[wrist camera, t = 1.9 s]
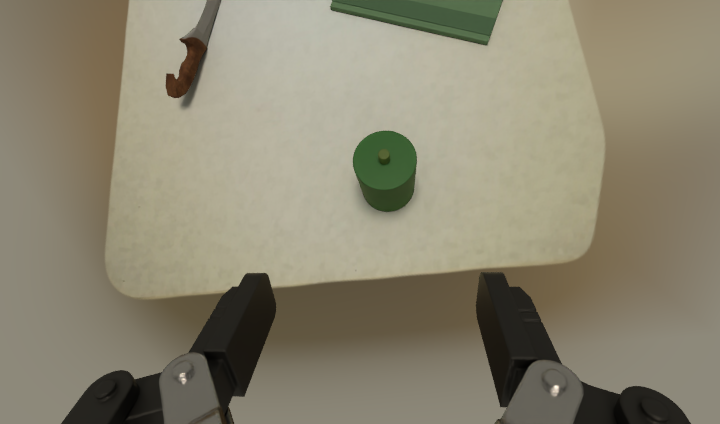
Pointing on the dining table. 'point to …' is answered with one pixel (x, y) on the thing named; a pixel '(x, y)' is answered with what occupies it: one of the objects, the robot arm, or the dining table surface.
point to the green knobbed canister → (386, 169)
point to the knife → (193, 51)
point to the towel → (430, 15)
